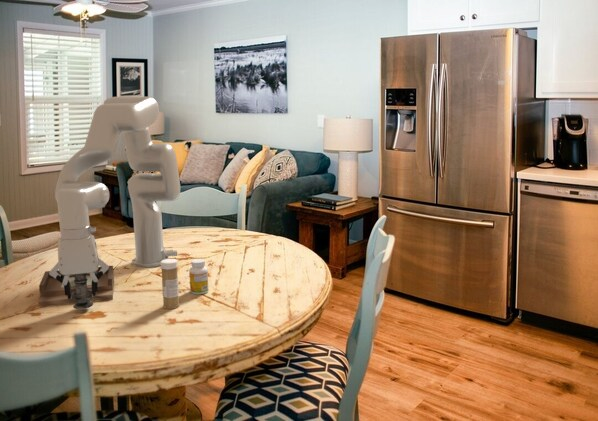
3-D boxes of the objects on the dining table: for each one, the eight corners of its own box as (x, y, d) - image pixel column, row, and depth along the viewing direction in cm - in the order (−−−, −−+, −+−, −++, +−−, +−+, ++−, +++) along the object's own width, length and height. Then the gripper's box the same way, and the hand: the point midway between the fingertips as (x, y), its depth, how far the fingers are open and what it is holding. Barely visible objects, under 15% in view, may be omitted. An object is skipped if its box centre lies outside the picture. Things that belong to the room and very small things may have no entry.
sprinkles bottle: (163, 304, 169) (160, 258, 166) (179, 303, 169) (177, 257, 167) (162, 310, 164) (160, 263, 161) (179, 308, 165) (177, 262, 162)
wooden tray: (114, 280, 190) (112, 265, 189) (112, 299, 173) (111, 283, 172) (46, 286, 184) (45, 271, 183) (38, 306, 167) (37, 290, 166)
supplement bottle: (191, 289, 181) (189, 258, 179) (209, 288, 181) (207, 257, 179) (189, 295, 176) (188, 263, 174) (207, 294, 176) (206, 263, 174)
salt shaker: (87, 310, 161) (82, 268, 158) (67, 308, 162) (63, 267, 160) (98, 302, 167) (94, 261, 164) (79, 300, 168) (75, 260, 165)
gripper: (109, 226, 166) (114, 287, 170) (43, 232, 161) (50, 294, 165) (108, 233, 159) (114, 297, 163) (39, 239, 154) (47, 304, 158)
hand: (82, 295), depth 164 cm, fingers closed on salt shaker, 5 cm apart
